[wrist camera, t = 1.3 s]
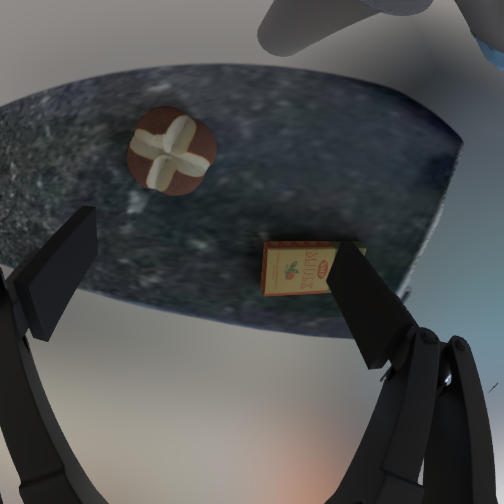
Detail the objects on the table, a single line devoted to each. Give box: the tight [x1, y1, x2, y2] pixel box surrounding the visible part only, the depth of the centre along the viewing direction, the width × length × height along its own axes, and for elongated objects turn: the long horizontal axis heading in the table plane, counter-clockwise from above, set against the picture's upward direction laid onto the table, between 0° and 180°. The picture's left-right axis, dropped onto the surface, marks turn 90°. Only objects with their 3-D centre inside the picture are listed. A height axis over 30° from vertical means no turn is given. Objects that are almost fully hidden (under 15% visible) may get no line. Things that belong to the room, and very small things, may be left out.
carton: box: [261, 241, 366, 296], centre depth 44 cm, size 8×16×4 cm, turn 87°
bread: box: [127, 107, 217, 196], centre depth 33 cm, size 11×11×5 cm
